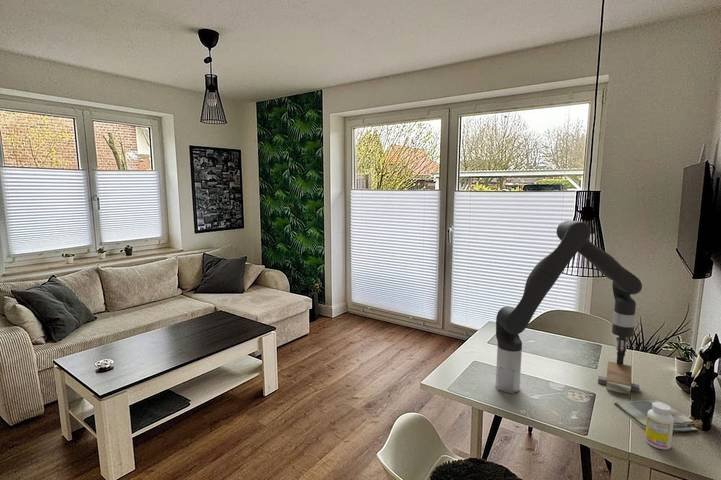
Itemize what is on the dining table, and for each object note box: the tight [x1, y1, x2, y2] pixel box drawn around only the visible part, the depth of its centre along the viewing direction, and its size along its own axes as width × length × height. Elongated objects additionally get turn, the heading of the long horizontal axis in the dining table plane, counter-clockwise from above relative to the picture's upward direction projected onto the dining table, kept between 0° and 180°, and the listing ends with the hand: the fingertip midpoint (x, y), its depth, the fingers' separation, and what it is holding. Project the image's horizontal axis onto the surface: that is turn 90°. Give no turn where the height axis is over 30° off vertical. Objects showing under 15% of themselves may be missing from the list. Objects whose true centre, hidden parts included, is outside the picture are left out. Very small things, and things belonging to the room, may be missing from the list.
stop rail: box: [597, 375, 640, 394], centre depth 157 cm, size 3×14×2 cm, turn 57°
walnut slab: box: [605, 360, 632, 396], centre depth 156 cm, size 4×8×11 cm
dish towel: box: [613, 399, 700, 434], centre depth 136 cm, size 19×18×3 cm
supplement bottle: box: [644, 402, 674, 450], centre depth 121 cm, size 7×7×13 cm
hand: (619, 363), depth 158 cm, fingers closed
